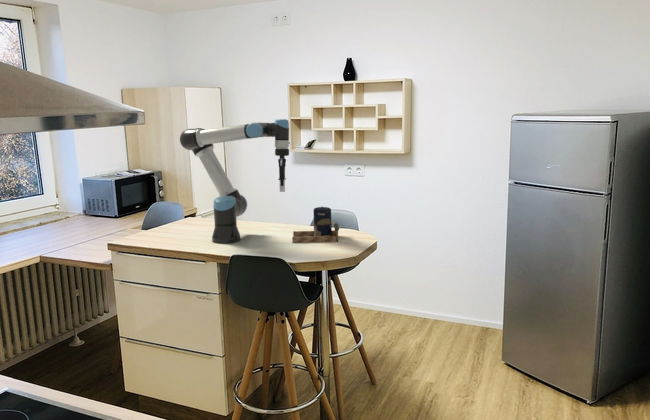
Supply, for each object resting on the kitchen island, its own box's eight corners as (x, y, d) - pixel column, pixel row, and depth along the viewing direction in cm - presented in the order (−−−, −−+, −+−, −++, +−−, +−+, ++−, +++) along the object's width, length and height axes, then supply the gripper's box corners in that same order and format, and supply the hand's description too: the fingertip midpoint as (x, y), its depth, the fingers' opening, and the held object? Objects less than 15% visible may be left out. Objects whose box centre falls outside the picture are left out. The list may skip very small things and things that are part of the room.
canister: (332, 237, 287) (332, 204, 284) (330, 241, 277) (330, 207, 274) (315, 237, 288) (314, 204, 285) (312, 240, 278) (312, 207, 275)
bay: (292, 242, 274) (292, 227, 273) (293, 236, 290) (293, 221, 288) (339, 241, 275) (339, 226, 274) (337, 235, 290) (337, 220, 289)
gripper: (288, 149, 275) (288, 193, 280) (289, 147, 288) (289, 190, 292) (273, 148, 275) (274, 193, 280) (276, 147, 288) (276, 189, 292)
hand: (282, 191), depth 286 cm, fingers closed
